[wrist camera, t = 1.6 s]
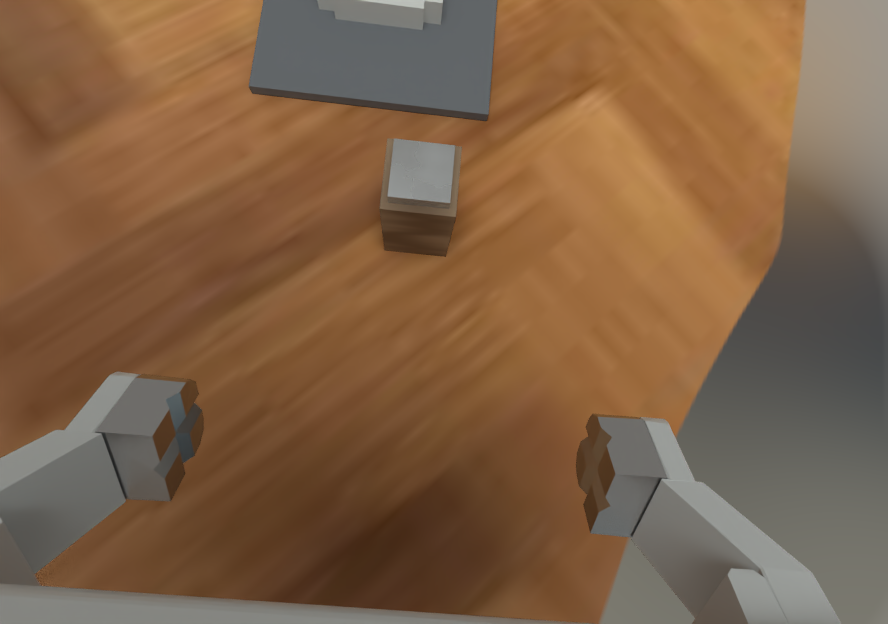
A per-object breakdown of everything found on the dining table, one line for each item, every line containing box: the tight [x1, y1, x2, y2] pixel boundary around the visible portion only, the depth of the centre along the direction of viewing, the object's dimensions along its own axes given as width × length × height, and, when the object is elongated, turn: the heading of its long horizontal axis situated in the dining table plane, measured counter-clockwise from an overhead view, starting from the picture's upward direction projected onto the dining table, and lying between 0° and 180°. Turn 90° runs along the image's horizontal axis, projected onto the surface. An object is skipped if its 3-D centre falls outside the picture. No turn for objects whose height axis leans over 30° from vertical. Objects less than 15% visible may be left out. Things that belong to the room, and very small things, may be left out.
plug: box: [380, 139, 462, 257], centre depth 32 cm, size 4×4×8 cm
